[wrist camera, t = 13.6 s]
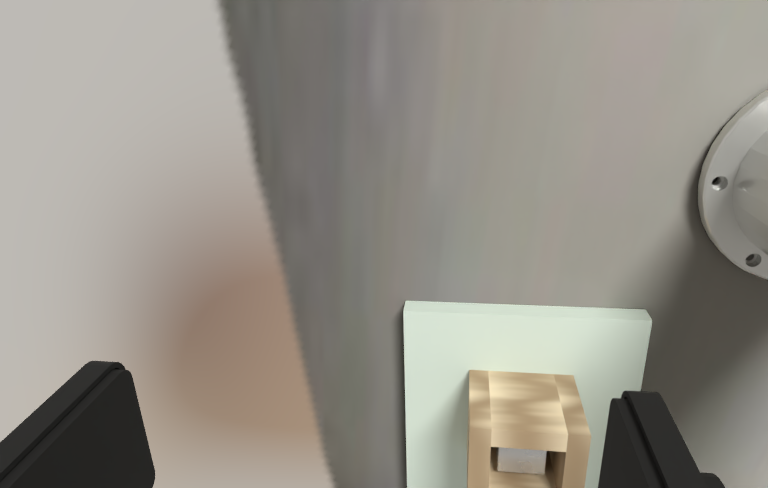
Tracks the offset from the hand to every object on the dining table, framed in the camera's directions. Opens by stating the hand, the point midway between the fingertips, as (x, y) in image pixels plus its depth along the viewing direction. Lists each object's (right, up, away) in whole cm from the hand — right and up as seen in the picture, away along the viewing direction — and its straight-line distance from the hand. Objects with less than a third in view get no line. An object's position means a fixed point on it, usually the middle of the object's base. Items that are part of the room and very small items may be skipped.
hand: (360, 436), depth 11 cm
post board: (+10, -8, +30) cm, 33 cm away
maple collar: (+10, -8, +29) cm, 32 cm away
